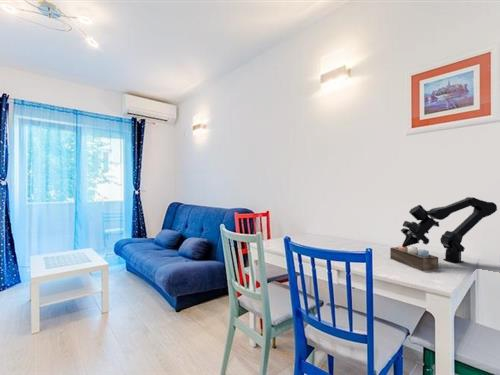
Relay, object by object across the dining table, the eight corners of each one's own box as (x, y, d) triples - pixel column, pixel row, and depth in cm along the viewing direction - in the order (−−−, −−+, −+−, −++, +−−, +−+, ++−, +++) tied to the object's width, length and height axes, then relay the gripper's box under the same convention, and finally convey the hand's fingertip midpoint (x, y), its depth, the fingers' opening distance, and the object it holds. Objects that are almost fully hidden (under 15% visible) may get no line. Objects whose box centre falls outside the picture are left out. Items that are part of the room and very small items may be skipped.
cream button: (413, 255, 139) (413, 246, 139) (419, 257, 135) (419, 248, 135) (405, 255, 139) (405, 246, 139) (412, 258, 134) (411, 248, 134)
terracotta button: (403, 254, 146) (403, 245, 146) (409, 256, 142) (409, 247, 142) (396, 254, 146) (396, 246, 146) (402, 257, 141) (402, 248, 141)
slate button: (423, 259, 132) (423, 249, 132) (431, 261, 128) (431, 251, 128) (415, 259, 132) (415, 249, 132) (423, 261, 127) (422, 251, 127)
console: (404, 257, 148) (404, 247, 148) (438, 269, 127) (438, 257, 127) (390, 258, 147) (390, 247, 147) (421, 270, 125) (421, 258, 125)
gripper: (404, 214, 153) (384, 233, 153) (422, 217, 134) (400, 239, 135) (418, 227, 152) (398, 246, 153) (439, 233, 133) (416, 254, 134)
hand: (402, 246), depth 144 cm, fingers closed, pressing on terracotta button
